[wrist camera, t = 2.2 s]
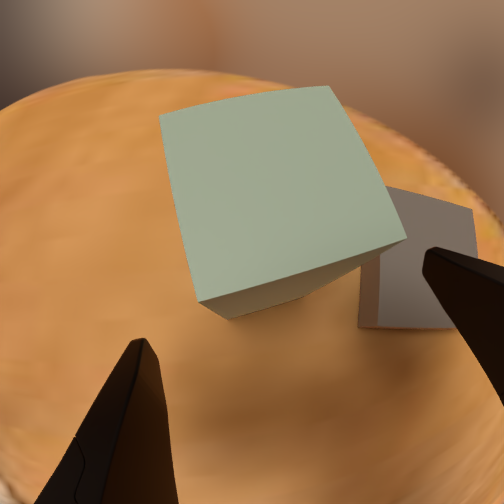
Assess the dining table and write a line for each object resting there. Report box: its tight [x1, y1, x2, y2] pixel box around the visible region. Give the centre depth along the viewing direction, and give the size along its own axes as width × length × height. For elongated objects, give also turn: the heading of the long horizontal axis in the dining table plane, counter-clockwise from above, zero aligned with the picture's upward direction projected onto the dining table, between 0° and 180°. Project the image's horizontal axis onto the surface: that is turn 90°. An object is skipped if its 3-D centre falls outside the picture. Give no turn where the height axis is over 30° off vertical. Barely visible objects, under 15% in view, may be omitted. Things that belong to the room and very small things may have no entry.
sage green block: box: [159, 86, 407, 320], centre depth 13 cm, size 5×5×12 cm
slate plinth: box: [358, 186, 478, 330], centre depth 18 cm, size 9×9×3 cm
